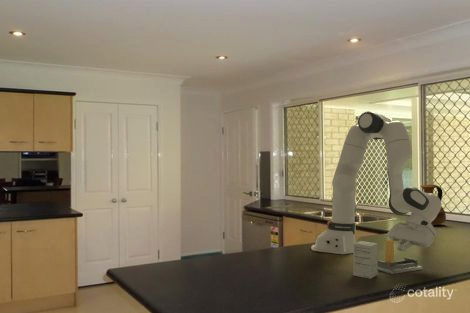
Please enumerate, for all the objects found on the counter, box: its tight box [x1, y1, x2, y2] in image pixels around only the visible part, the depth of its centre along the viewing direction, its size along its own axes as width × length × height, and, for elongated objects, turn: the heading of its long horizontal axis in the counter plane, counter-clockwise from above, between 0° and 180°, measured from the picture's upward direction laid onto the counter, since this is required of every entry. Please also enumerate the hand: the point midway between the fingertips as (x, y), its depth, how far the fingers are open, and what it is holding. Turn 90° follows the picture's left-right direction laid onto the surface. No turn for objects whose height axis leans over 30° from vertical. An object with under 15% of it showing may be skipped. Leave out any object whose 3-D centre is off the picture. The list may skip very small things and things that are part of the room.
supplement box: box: [352, 240, 379, 279], centre depth 168 cm, size 7×7×13 cm
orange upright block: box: [384, 239, 396, 265], centre depth 177 cm, size 4×3×11 cm
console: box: [378, 256, 424, 275], centre depth 179 cm, size 18×10×4 cm, turn 118°
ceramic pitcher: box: [420, 184, 447, 226], centre depth 316 cm, size 20×20×30 cm
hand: (400, 249), depth 180 cm, fingers closed
